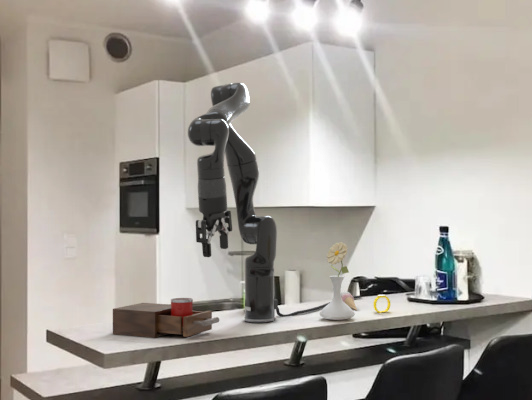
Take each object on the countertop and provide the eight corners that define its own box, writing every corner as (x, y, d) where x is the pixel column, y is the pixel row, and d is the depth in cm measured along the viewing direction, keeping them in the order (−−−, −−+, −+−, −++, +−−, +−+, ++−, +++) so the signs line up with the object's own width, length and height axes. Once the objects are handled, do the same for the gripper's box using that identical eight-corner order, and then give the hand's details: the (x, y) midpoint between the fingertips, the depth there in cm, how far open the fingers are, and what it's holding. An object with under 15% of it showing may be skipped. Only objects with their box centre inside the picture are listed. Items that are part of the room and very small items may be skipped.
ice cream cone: (365, 312, 247) (351, 297, 261) (360, 301, 245) (346, 287, 259) (353, 319, 246) (339, 303, 260) (348, 308, 244) (335, 293, 258)
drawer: (224, 330, 201) (224, 311, 201) (200, 338, 190) (200, 318, 190) (172, 326, 209) (172, 308, 209) (146, 333, 197) (146, 314, 197)
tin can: (179, 325, 204) (179, 297, 204) (197, 326, 201) (197, 298, 201) (166, 328, 198) (166, 300, 198) (184, 330, 196) (184, 301, 196)
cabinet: (183, 329, 208) (183, 305, 208) (154, 337, 195) (154, 311, 195) (142, 326, 214) (142, 302, 214) (112, 334, 201) (112, 308, 201)
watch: (387, 311, 244) (387, 294, 244) (391, 312, 241) (391, 294, 241) (372, 312, 241) (372, 295, 241) (376, 313, 239) (376, 295, 239)
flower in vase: (314, 317, 230) (314, 240, 230) (346, 315, 234) (346, 240, 234) (329, 323, 218) (329, 242, 218) (363, 321, 222) (362, 242, 222)
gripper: (214, 188, 197) (218, 245, 200) (185, 198, 184) (189, 258, 187) (238, 189, 194) (241, 247, 197) (209, 199, 181) (213, 260, 184)
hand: (215, 252), depth 192 cm, fingers open, 8 cm apart
